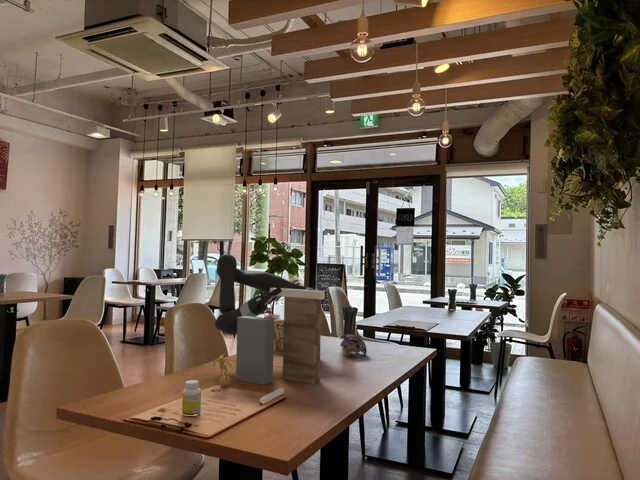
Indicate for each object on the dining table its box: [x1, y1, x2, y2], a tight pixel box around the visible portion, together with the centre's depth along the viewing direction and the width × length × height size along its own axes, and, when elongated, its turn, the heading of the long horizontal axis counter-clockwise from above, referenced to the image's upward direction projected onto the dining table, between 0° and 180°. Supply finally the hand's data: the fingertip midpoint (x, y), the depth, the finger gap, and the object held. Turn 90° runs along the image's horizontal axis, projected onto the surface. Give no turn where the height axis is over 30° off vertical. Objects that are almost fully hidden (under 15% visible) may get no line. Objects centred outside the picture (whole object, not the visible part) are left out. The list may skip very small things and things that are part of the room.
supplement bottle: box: [181, 379, 202, 415], centre depth 146 cm, size 5×5×10 cm
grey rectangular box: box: [235, 316, 275, 386], centre depth 188 cm, size 5×14×24 cm, turn 59°
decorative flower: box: [339, 333, 367, 357], centre depth 239 cm, size 14×12×15 cm
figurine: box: [213, 354, 234, 388], centre depth 177 cm, size 8×6×12 cm
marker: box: [258, 387, 285, 403], centre depth 163 cm, size 3×2×16 cm
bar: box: [270, 288, 326, 300], centre depth 193 cm, size 3×24×3 cm, turn 59°
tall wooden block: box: [282, 297, 322, 385], centre depth 190 cm, size 5×14×32 cm, turn 59°
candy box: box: [273, 318, 284, 352], centre depth 250 cm, size 9×4×15 cm, turn 129°
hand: (283, 288), depth 196 cm, fingers closed on bar, 3 cm apart
